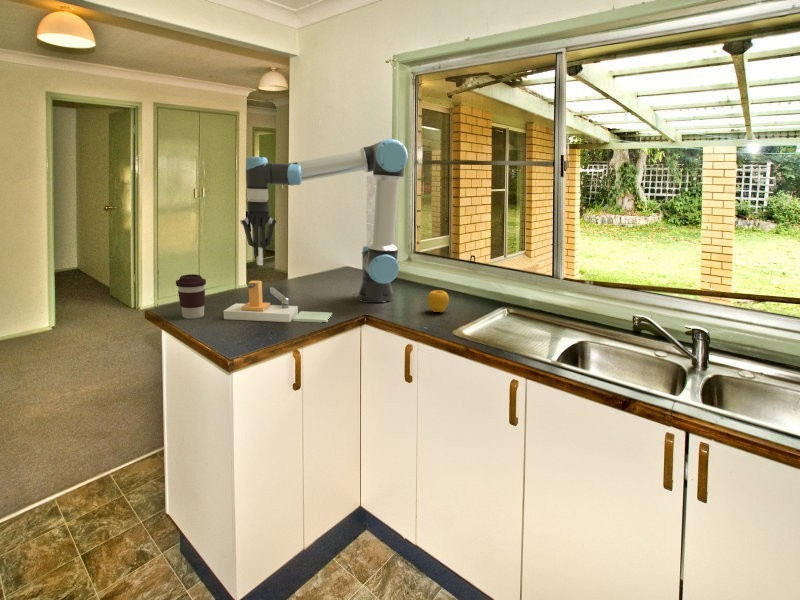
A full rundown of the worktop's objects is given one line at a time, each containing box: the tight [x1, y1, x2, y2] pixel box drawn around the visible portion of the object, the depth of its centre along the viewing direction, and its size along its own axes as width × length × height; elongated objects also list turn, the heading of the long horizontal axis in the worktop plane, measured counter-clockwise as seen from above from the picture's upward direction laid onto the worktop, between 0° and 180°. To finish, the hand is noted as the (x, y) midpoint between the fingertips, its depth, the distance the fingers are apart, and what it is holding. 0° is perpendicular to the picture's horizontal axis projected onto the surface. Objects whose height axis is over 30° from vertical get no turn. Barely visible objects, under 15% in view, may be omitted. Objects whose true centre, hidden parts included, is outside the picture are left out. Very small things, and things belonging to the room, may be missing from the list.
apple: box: [427, 289, 450, 313], centre depth 196 cm, size 8×8×9 cm
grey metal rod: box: [269, 286, 290, 305], centre depth 193 cm, size 21×3×2 cm, turn 29°
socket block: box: [223, 302, 299, 323], centre depth 184 cm, size 24×11×4 cm, turn 86°
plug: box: [241, 280, 271, 311], centre depth 183 cm, size 8×9×13 cm
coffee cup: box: [175, 273, 207, 320], centre depth 181 cm, size 10×10×15 cm
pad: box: [292, 310, 333, 323], centre depth 184 cm, size 12×10×1 cm
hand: (259, 264), depth 188 cm, fingers closed
